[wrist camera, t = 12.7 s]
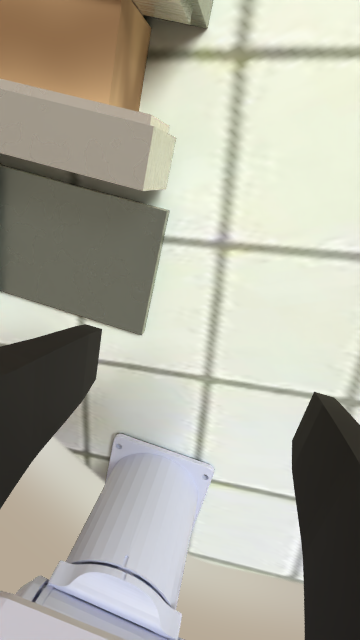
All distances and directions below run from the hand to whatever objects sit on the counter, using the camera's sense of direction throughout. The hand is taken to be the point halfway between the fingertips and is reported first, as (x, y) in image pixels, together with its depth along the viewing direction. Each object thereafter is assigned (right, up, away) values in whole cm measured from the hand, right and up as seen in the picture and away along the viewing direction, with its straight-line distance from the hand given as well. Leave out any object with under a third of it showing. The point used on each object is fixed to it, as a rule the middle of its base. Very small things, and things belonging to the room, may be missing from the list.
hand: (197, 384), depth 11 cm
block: (-6, +16, +7) cm, 18 cm away
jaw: (-6, +12, +7) cm, 15 cm away
